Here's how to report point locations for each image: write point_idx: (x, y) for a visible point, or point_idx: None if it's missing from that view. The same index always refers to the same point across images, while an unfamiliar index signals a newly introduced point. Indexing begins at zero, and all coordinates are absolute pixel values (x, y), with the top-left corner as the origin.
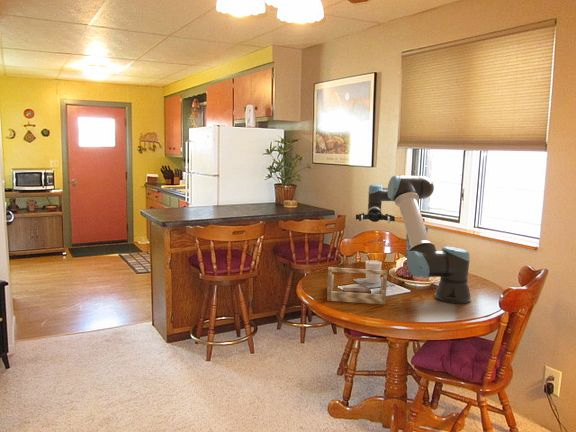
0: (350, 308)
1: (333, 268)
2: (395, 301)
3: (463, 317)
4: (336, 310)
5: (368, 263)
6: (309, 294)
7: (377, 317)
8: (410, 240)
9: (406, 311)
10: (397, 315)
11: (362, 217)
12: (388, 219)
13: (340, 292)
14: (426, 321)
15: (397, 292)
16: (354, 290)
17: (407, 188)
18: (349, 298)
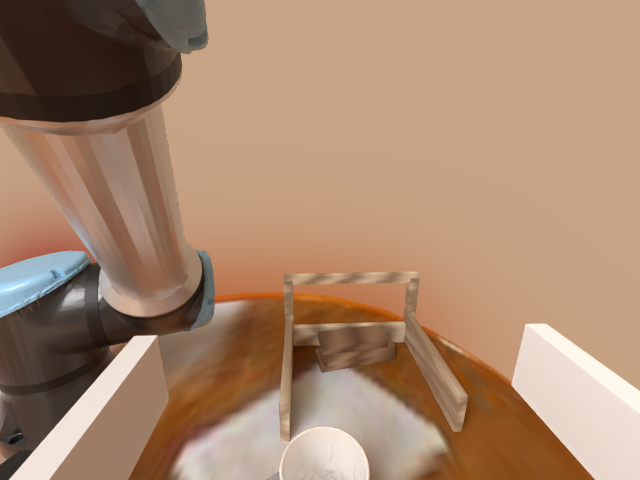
0: (352, 318)
1: (404, 272)
2: (259, 361)
3: None
4: (373, 309)
5: (347, 433)
6: (468, 359)
7: (303, 301)
8: (186, 249)
9: (249, 324)
10: (270, 310)
11: (528, 328)
12: (158, 351)
13: (383, 322)
14: (228, 302)
15: (235, 426)
16: (356, 329)
17: None
18: None
